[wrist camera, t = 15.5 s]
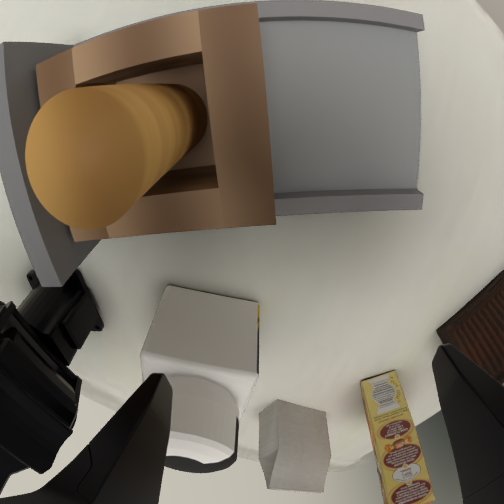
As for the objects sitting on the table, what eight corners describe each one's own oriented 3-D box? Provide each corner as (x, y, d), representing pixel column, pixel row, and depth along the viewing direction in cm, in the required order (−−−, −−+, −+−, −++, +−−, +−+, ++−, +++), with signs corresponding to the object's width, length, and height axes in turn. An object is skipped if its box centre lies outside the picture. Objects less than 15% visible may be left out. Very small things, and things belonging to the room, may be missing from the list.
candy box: (358, 380, 28) (386, 517, 15) (397, 367, 27) (436, 500, 14) (365, 415, 32) (385, 524, 19) (397, 405, 31) (423, 512, 18)
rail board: (102, 220, 20) (42, 286, 13) (71, 55, 14) (-17, 56, 7) (408, 197, 18) (473, 260, 11) (407, 20, 12) (487, -3, 5)
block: (113, 204, 18) (74, 241, 14) (87, 64, 13) (35, 65, 9) (271, 187, 17) (276, 224, 13) (257, 28, 13) (257, 3, 8)
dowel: (141, 160, 16) (46, 235, 8) (131, 92, 14) (14, 112, 6) (211, 151, 15) (157, 223, 8) (203, 77, 13) (130, 68, 6)
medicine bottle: (242, 359, 26) (234, 485, 16) (164, 344, 26) (130, 465, 15) (260, 300, 23) (259, 452, 12) (166, 282, 22) (114, 424, 12)
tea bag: (277, 399, 30) (279, 484, 21) (325, 412, 31) (334, 488, 23) (259, 412, 31) (258, 491, 23) (306, 424, 33) (311, 496, 24)
